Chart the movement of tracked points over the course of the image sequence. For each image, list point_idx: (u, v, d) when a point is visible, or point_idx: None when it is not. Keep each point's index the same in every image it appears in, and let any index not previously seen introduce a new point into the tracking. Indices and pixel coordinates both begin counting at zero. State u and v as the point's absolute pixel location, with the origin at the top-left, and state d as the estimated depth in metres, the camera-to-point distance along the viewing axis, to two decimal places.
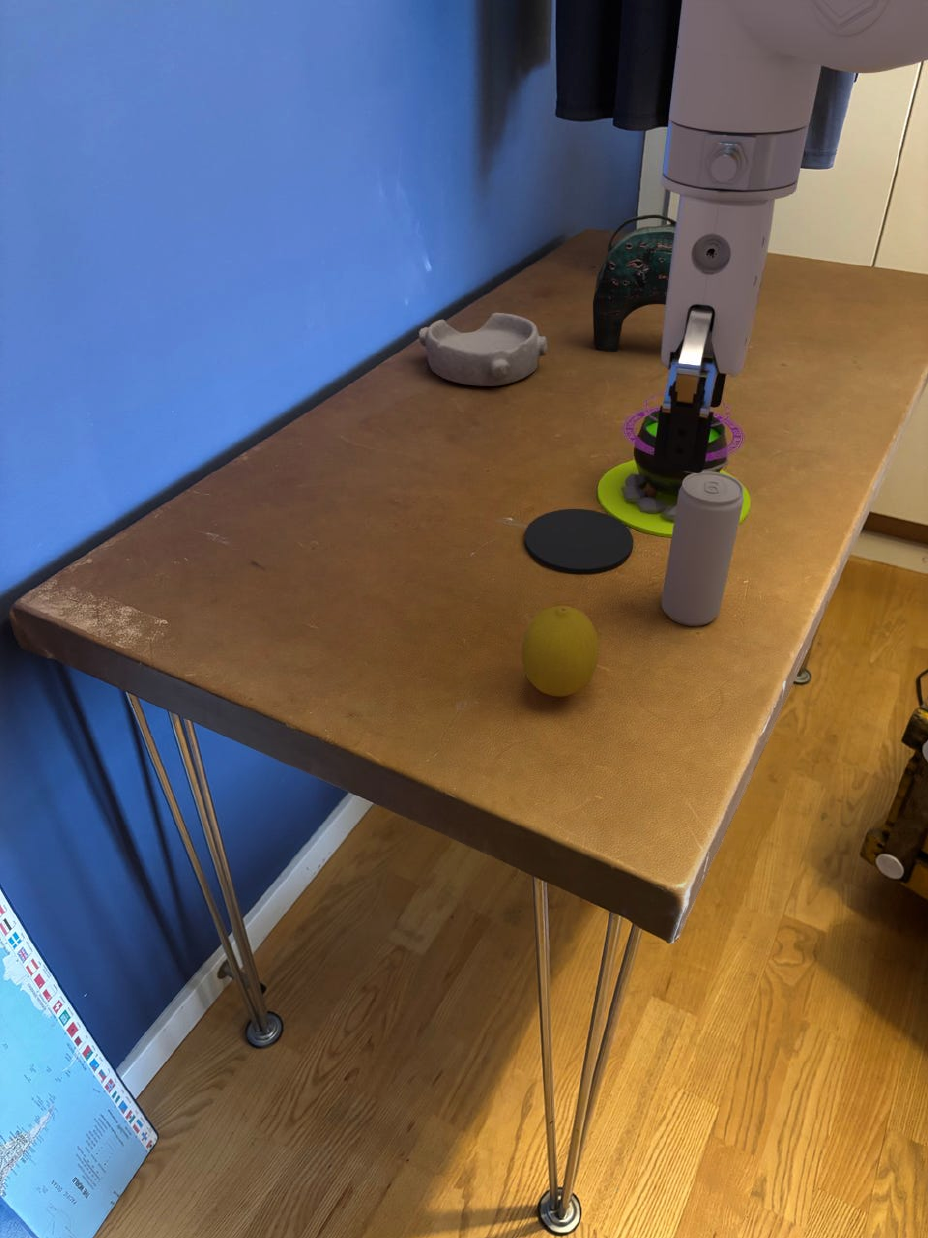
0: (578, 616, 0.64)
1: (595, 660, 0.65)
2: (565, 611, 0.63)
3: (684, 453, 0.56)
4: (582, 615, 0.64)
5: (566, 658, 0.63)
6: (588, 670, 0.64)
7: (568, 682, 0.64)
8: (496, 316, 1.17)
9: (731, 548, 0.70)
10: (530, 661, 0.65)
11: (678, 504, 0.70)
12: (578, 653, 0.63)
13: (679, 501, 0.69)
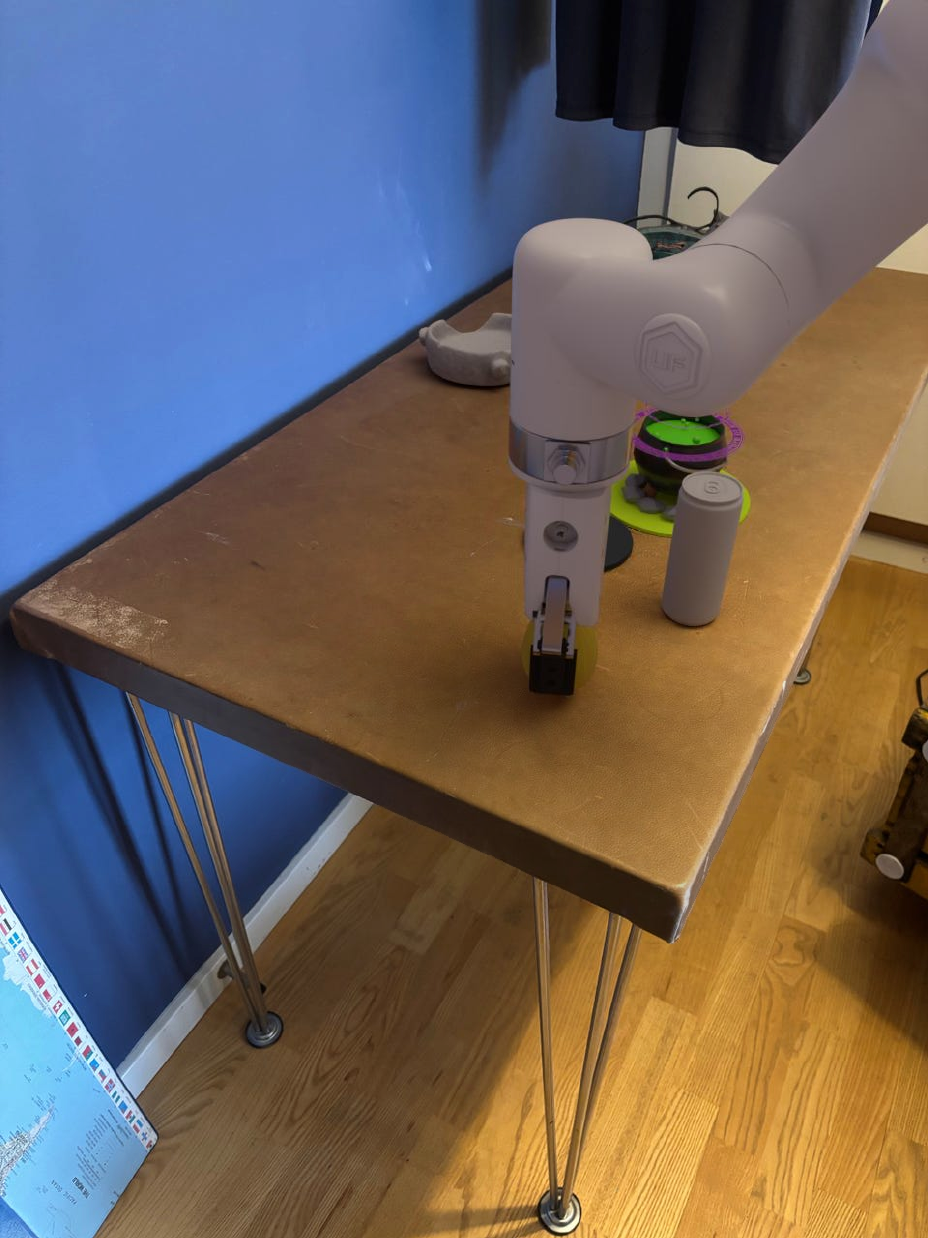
0: None
1: (594, 659, 0.65)
2: None
3: (556, 684, 0.63)
4: None
5: None
6: (588, 668, 0.65)
7: None
8: (496, 316, 1.17)
9: (731, 548, 0.70)
10: None
11: (678, 504, 0.70)
12: None
13: (679, 501, 0.69)
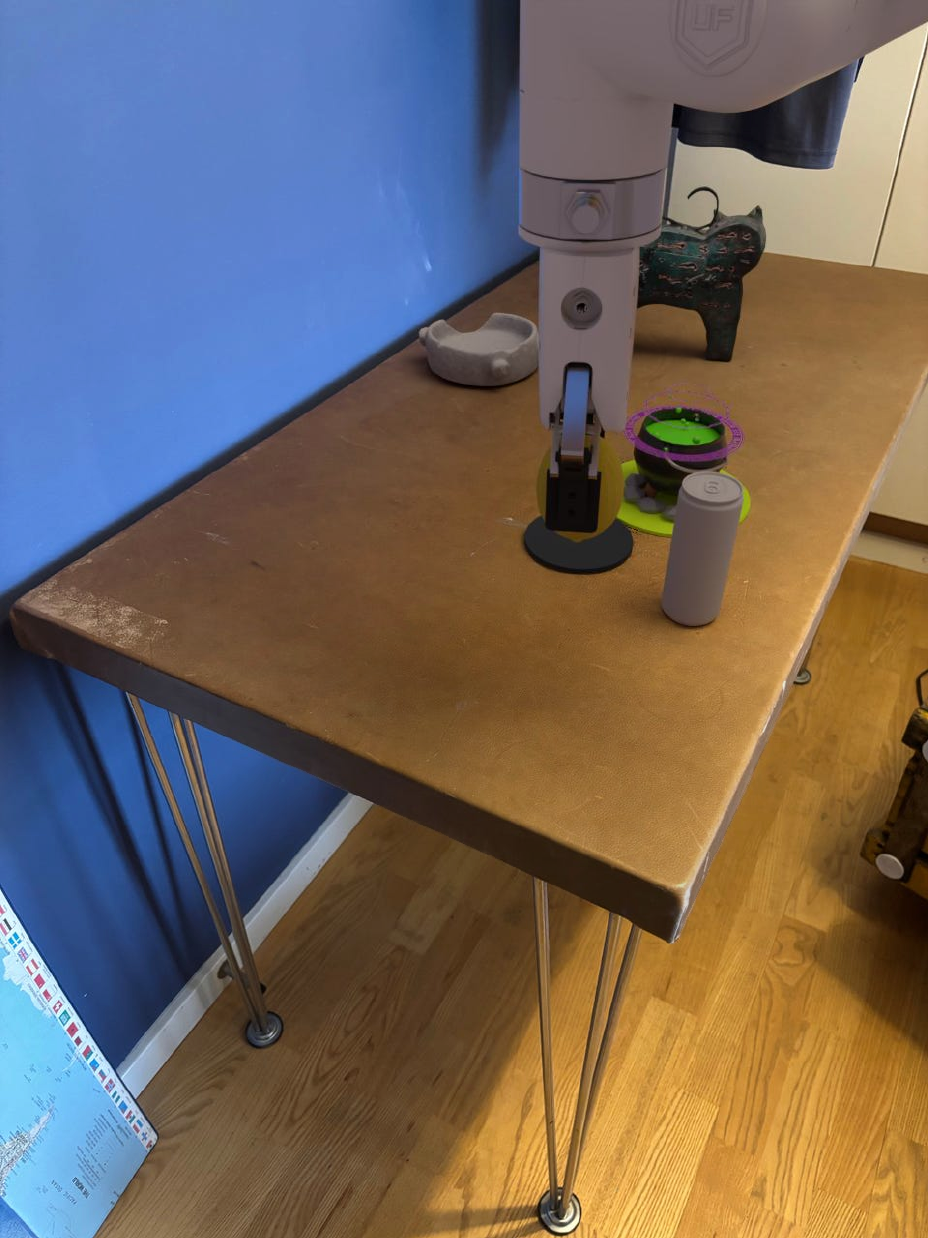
0: (600, 439, 0.56)
1: (620, 492, 0.57)
2: None
3: (577, 515, 0.54)
4: (605, 440, 0.56)
5: None
6: (613, 502, 0.56)
7: None
8: (496, 316, 1.17)
9: (731, 548, 0.70)
10: None
11: (678, 504, 0.70)
12: None
13: (679, 501, 0.69)
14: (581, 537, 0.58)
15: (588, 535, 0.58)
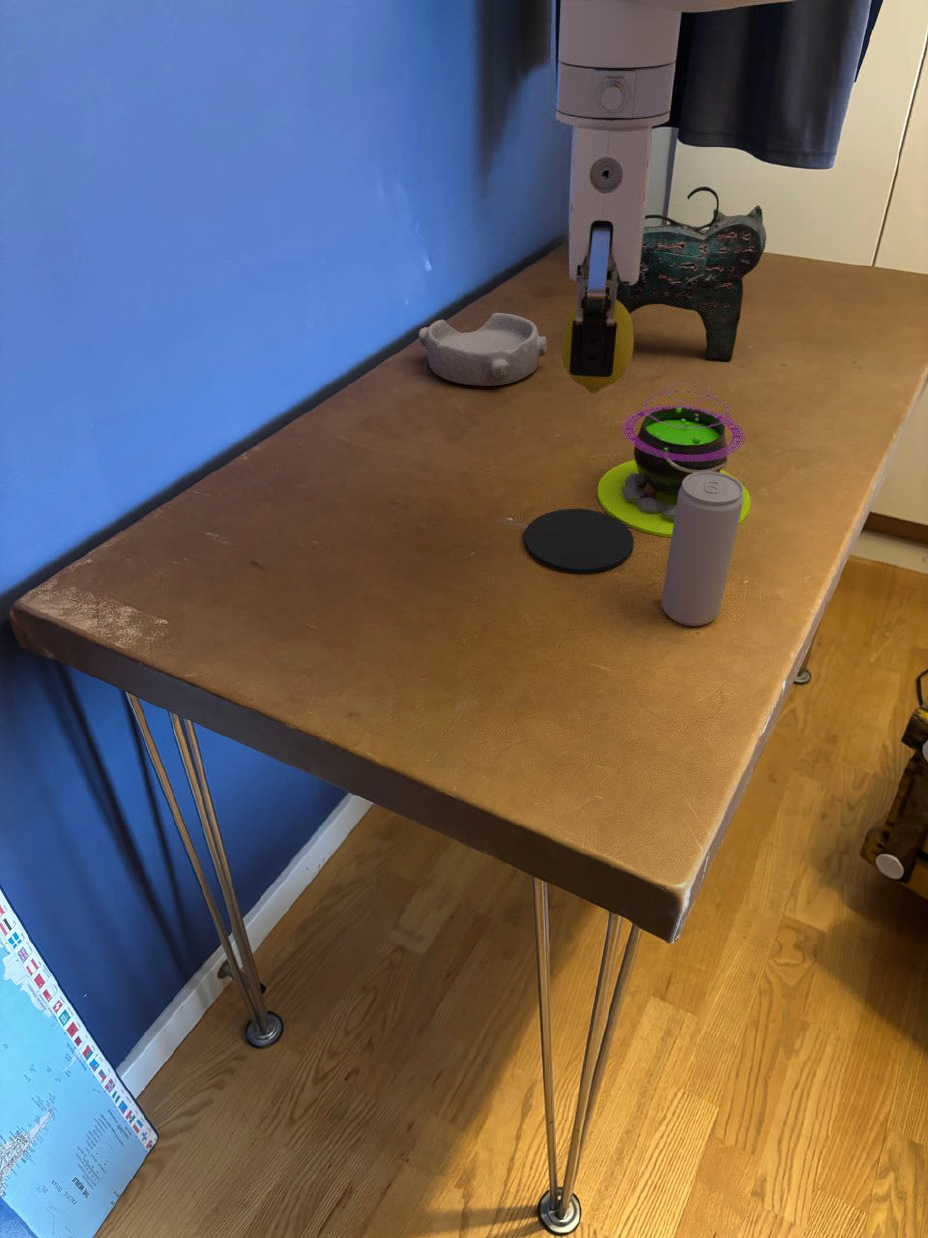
0: None
1: (631, 345, 0.69)
2: None
3: (596, 359, 0.67)
4: None
5: None
6: (625, 352, 0.69)
7: None
8: (496, 316, 1.17)
9: (731, 548, 0.70)
10: (570, 345, 0.69)
11: (678, 504, 0.70)
12: None
13: (679, 501, 0.69)
14: (598, 384, 0.70)
15: (603, 382, 0.70)
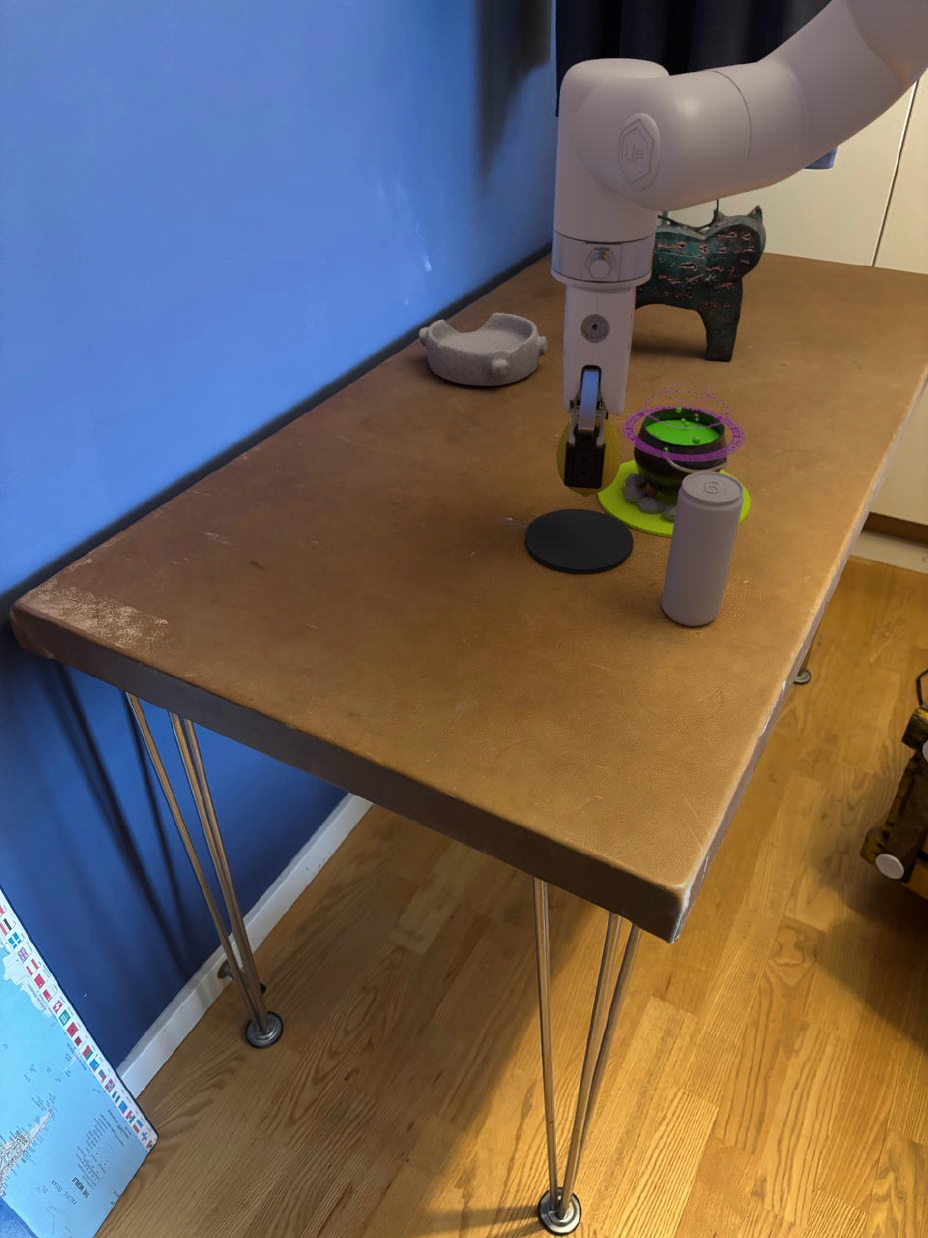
0: (605, 420, 0.76)
1: (618, 459, 0.77)
2: None
3: (587, 475, 0.75)
4: None
5: None
6: (613, 466, 0.77)
7: None
8: (496, 316, 1.17)
9: (731, 548, 0.70)
10: (564, 459, 0.77)
11: (678, 504, 0.70)
12: None
13: (679, 501, 0.69)
14: (589, 492, 0.79)
15: (594, 491, 0.78)
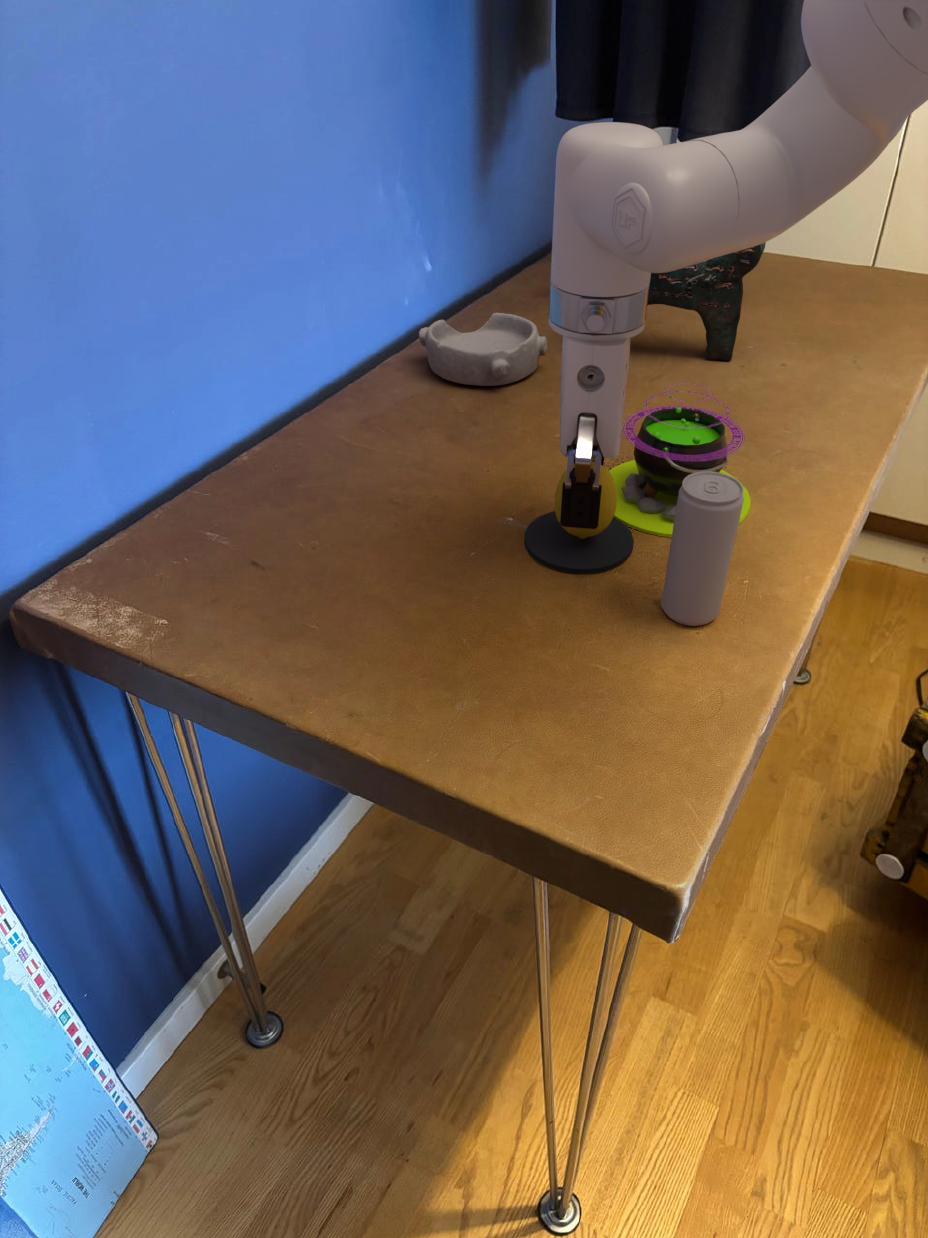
0: (601, 467, 0.79)
1: (614, 504, 0.80)
2: None
3: (583, 516, 0.76)
4: (604, 467, 0.80)
5: None
6: (609, 511, 0.80)
7: None
8: (496, 316, 1.17)
9: (731, 548, 0.70)
10: None
11: (678, 504, 0.70)
12: None
13: (679, 501, 0.69)
14: (586, 535, 0.81)
15: (591, 534, 0.81)
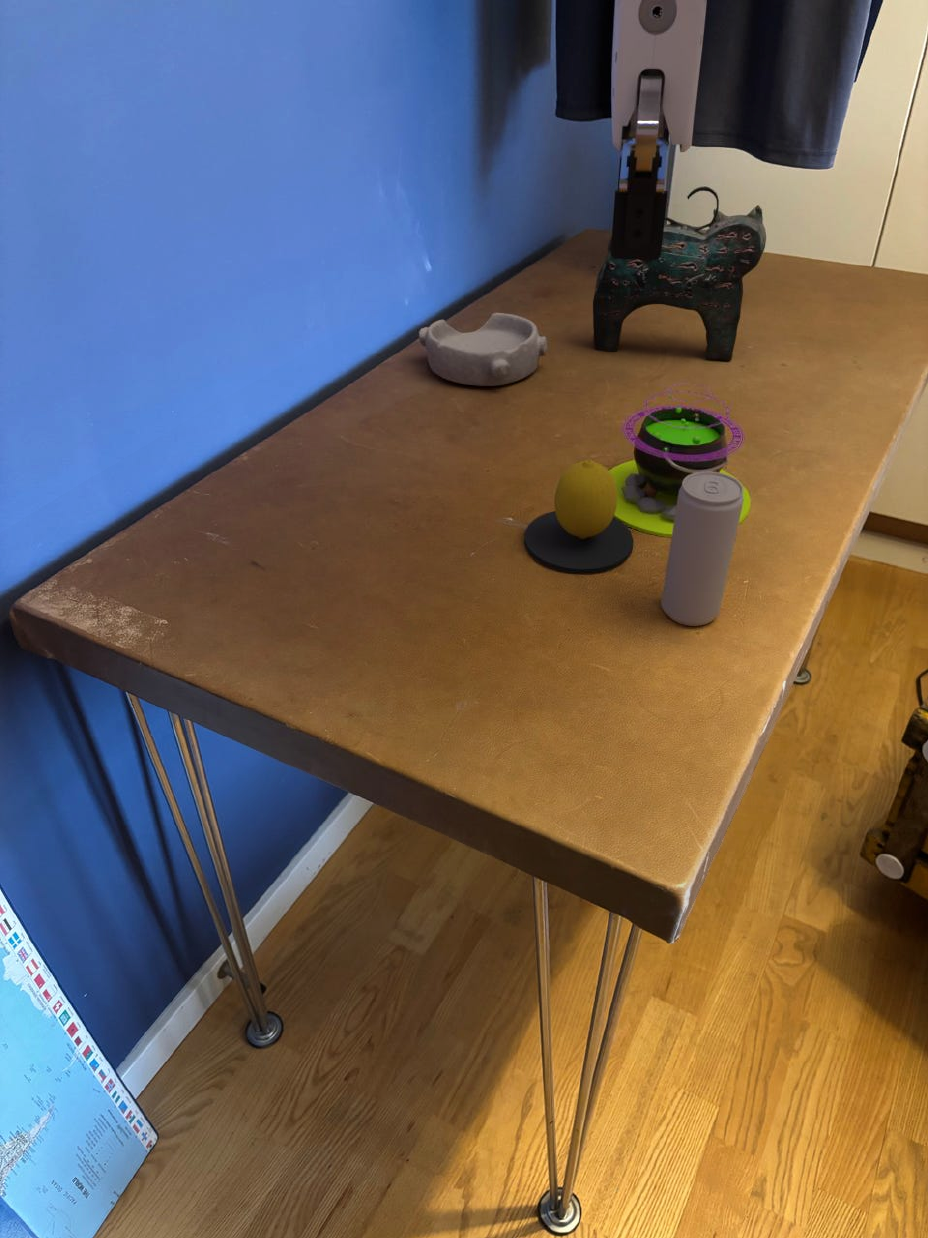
0: (601, 467, 0.79)
1: (614, 504, 0.80)
2: (590, 462, 0.79)
3: (642, 236, 0.57)
4: (604, 467, 0.80)
5: (591, 499, 0.78)
6: (609, 511, 0.80)
7: (592, 521, 0.79)
8: (496, 316, 1.17)
9: (731, 548, 0.70)
10: (562, 504, 0.80)
11: (678, 504, 0.70)
12: (600, 496, 0.78)
13: (679, 501, 0.69)
14: (586, 535, 0.81)
15: (591, 534, 0.81)
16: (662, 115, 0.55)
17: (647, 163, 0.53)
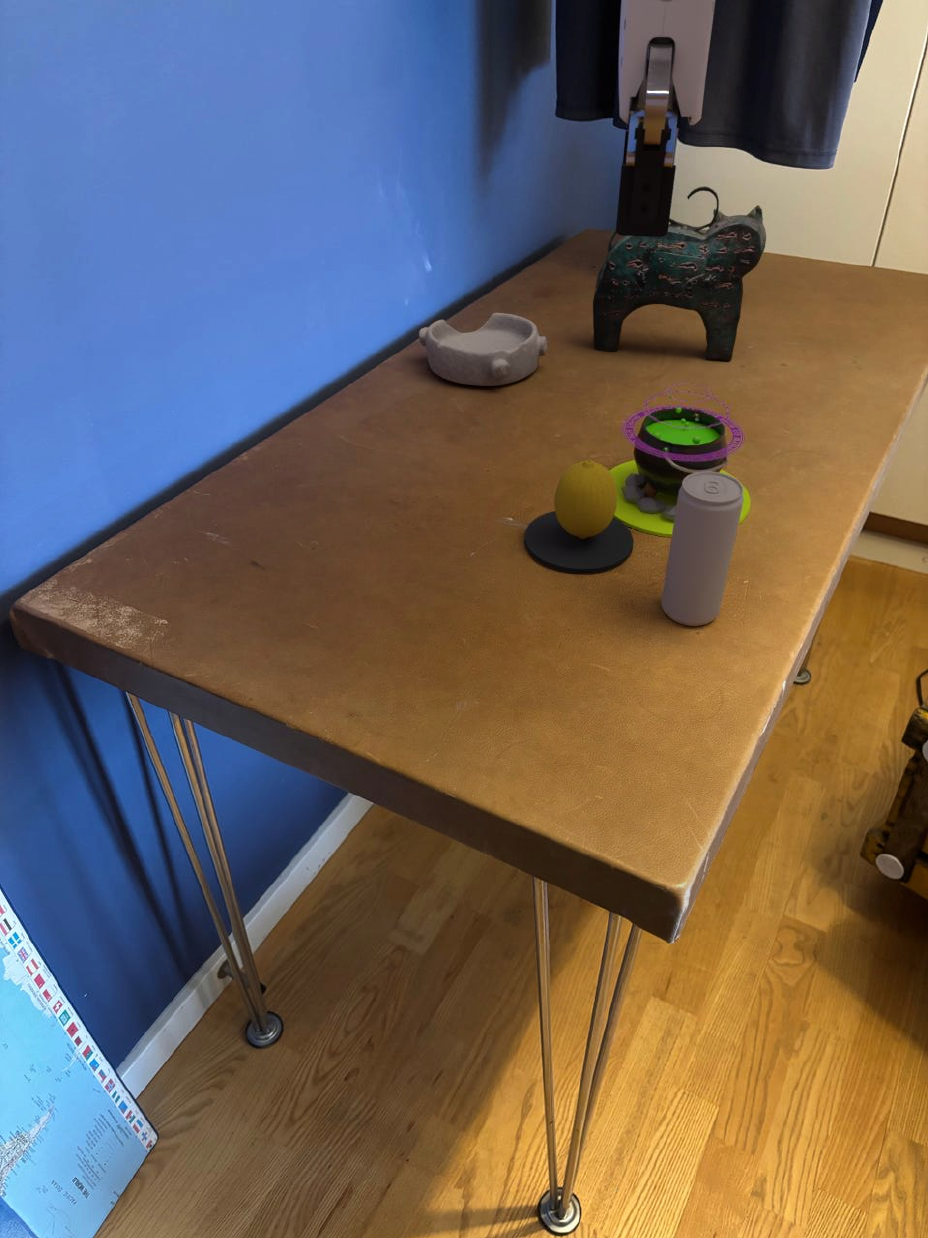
0: (601, 467, 0.79)
1: (614, 504, 0.80)
2: (590, 462, 0.79)
3: (649, 212, 0.55)
4: (604, 467, 0.80)
5: (591, 499, 0.78)
6: (609, 511, 0.80)
7: (592, 521, 0.79)
8: (496, 316, 1.17)
9: (731, 548, 0.70)
10: (562, 504, 0.80)
11: (678, 504, 0.70)
12: (600, 496, 0.78)
13: (679, 501, 0.69)
14: (586, 535, 0.81)
15: (591, 534, 0.81)
16: (671, 86, 0.53)
17: (656, 135, 0.51)
